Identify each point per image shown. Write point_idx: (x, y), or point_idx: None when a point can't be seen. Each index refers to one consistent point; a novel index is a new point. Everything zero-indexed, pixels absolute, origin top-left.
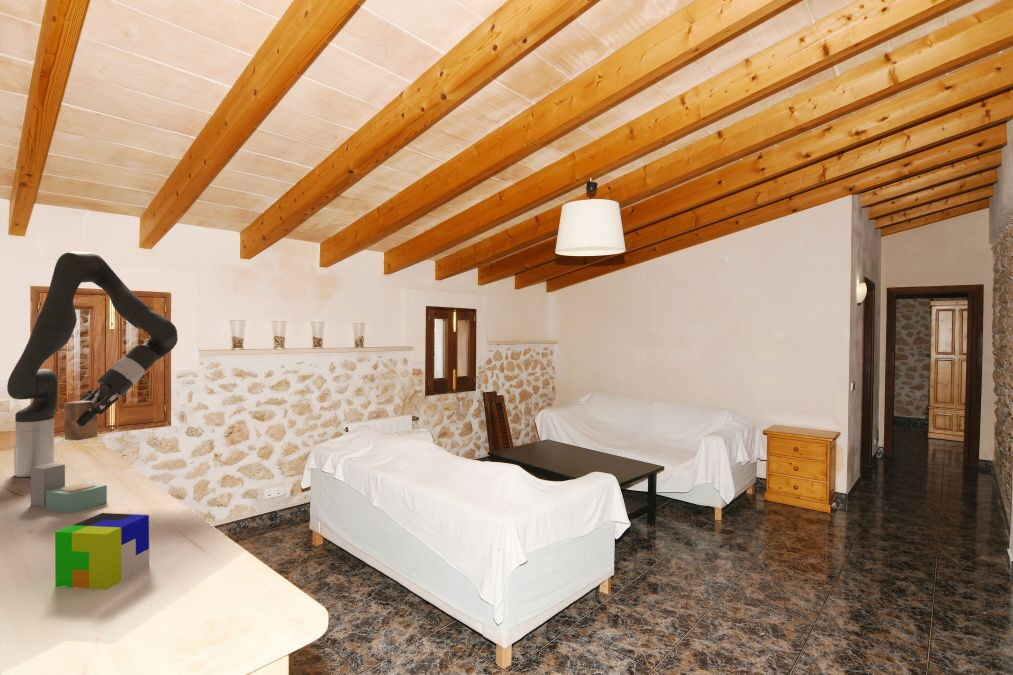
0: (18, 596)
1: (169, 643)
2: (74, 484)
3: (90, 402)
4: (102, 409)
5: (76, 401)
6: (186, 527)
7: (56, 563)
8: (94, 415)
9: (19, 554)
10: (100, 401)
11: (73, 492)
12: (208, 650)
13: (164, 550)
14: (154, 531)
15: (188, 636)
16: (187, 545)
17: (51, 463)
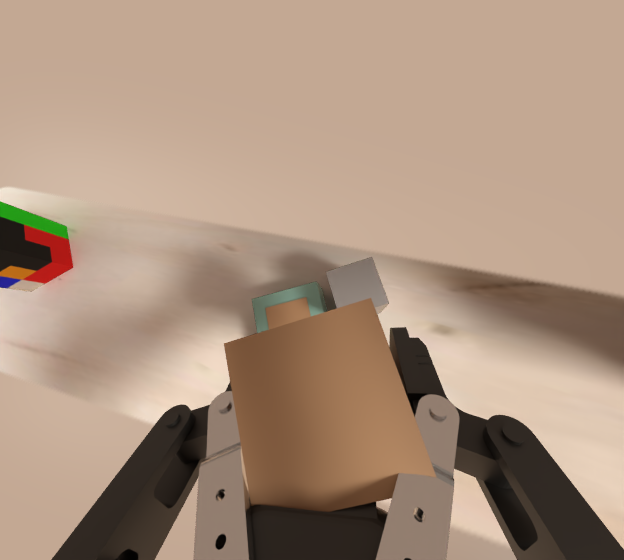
0: (75, 204)
1: None
2: None
3: (245, 452)
4: (187, 469)
5: (384, 397)
6: (71, 372)
7: (38, 216)
8: None
9: (162, 222)
10: (134, 491)
11: (262, 308)
12: None
13: (43, 317)
14: (95, 340)
15: None
16: (31, 339)
17: (381, 301)
